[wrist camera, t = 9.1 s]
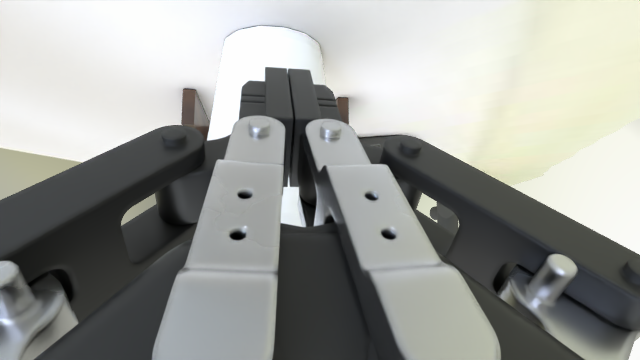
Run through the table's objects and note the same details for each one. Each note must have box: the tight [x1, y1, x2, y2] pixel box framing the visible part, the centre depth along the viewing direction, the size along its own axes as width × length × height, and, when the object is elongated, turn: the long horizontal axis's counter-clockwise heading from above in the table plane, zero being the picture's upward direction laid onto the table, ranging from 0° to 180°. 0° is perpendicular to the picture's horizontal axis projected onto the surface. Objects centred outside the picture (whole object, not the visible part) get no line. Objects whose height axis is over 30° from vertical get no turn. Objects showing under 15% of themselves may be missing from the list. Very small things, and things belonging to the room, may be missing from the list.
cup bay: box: [181, 89, 349, 141], centre depth 39 cm, size 13×14×3 cm
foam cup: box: [207, 26, 326, 227], centre depth 24 cm, size 10×9×13 cm
